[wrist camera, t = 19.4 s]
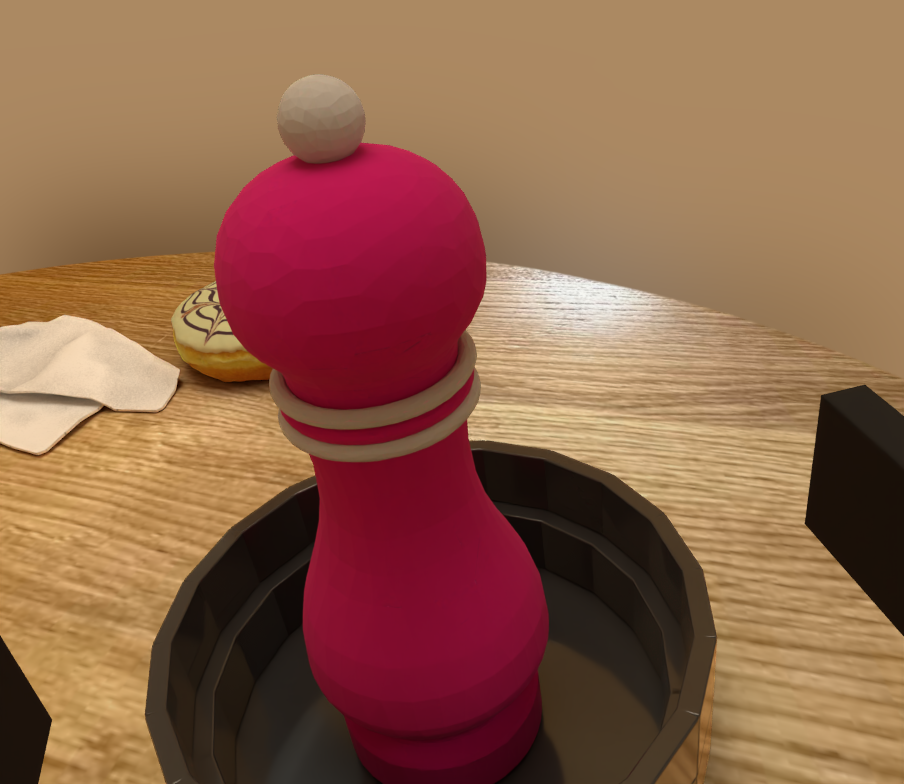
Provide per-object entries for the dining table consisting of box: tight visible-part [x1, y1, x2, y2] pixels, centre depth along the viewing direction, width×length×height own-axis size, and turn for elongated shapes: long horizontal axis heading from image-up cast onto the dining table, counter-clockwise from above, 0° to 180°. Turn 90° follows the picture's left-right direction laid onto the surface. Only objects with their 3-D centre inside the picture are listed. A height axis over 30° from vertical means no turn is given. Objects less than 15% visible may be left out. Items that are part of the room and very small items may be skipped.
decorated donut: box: [171, 281, 273, 382], centre depth 50 cm, size 10×11×4 cm
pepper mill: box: [214, 74, 549, 784], centre depth 22 cm, size 7×7×20 cm
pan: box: [145, 440, 717, 784], centre depth 26 cm, size 16×16×6 cm
